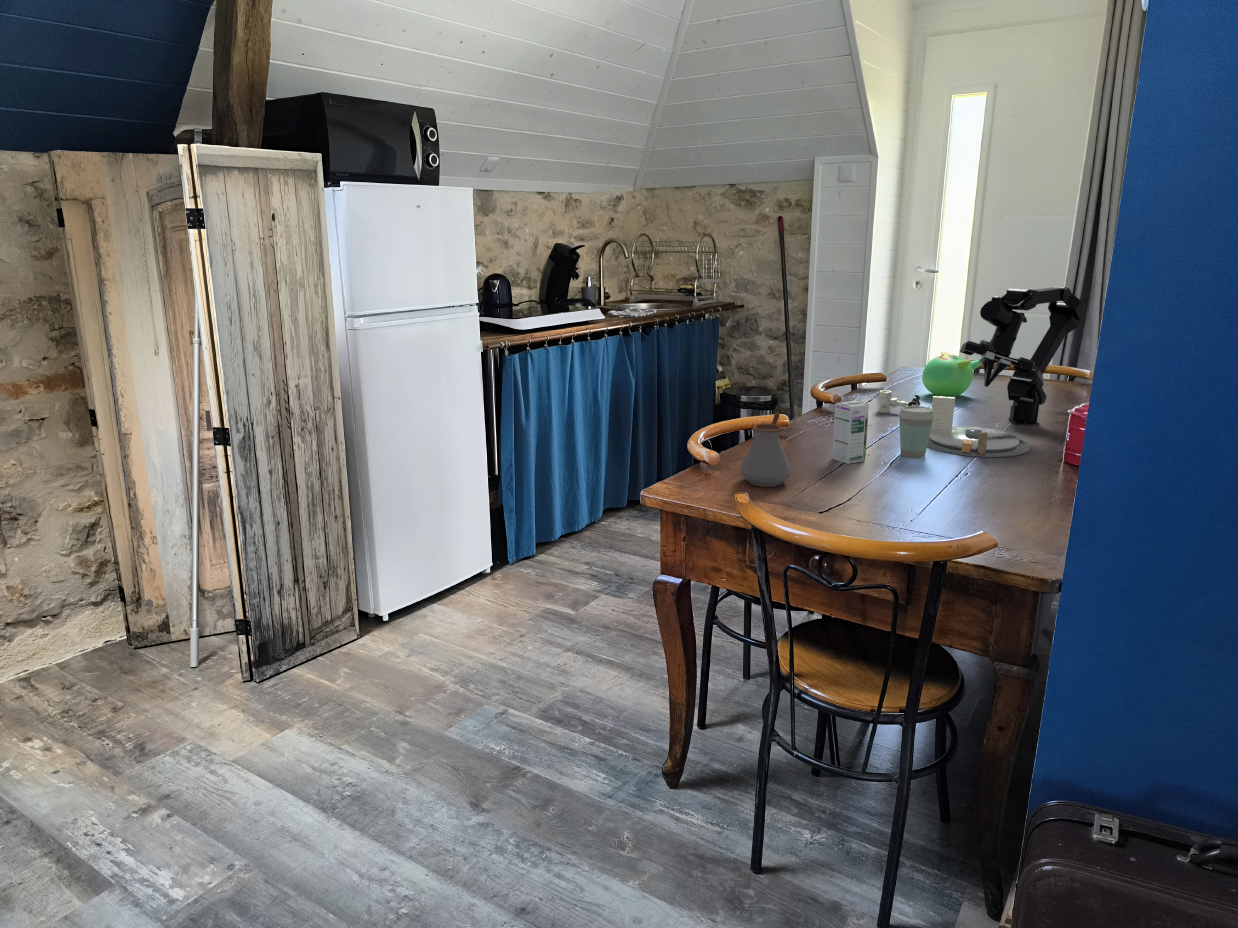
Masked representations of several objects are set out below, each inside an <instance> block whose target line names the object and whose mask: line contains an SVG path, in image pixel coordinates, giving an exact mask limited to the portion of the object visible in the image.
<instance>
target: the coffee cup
mask: <svg viewBox="0 0 1238 928" xmlns="http://www.w3.org/2000/svg"><path fill="white" fill-rule="evenodd" d="M897 416H898V417H899V441H900V442H899V444H900V445H899V448H900V455H901V456H902V457H903V458H909V459H923V458H925V456H926V453H927V448H928V447H927V444H928V440H929V435H930V431H931V426H932V422H933V419H934V418H935V417H934V414H933V410H932V407H928V406H921V405H919V406H905V407H901V408H900V411H899V412H898V415H897Z"/></svg>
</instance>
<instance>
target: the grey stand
mask: <svg viewBox="0 0 1238 928" xmlns="http://www.w3.org/2000/svg"><path fill="white" fill-rule="evenodd" d="M955 402H956V396H954V397H942V396H938V395H935V396H934V395H932V401H931V409H932V410H933V414H934V417H935V418H934V419H933V422H932V426H931V431H930V435H929V439H930V440H931V441H932V442H934V443H936V444H938V445H941V446H945V447H949V448H954V449H959V450H962V452H967V453H970V452H971V451H977V448H978V440H979V432H987V433H988V438H987V446H986V452H1000V451H1008V450H1013V449H1015V448H1017V447H1018V446H1019V439H1020V438H1019V437H1017V436H1016V435H1015V434H1012V433H1009V432H1005V431H1002V430H997V429H993V428H987V427H977V426H963V425H962V426H961V425H957V426H953V423H954V413H955V406H956V405H955V404H956V403H955Z"/></svg>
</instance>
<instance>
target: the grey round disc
mask: <svg viewBox="0 0 1238 928" xmlns="http://www.w3.org/2000/svg"><path fill="white" fill-rule="evenodd" d="M1018 439H1019V446H1018V447H1017V448H1015V449H1013V450H1008V451H1000V452H986V454H985V455H984V456H981V455H977V451H971V452H970V453H967V452H962V450H959V449H954V448H949V447H945V446H941V445H938V444H936V443H934V442H932V441H931V440H930V439H929V440H928V444H927V448H928V449H931V450H934V451H938V452H941V453H945V454H951V455H956V456H964V457H972V458H973V457H974V458H989V459H990V458H995V459H996V458H999V459H1000V458H1012V457H1018V456H1023V455H1026V454H1027V453H1029V452H1030V451H1031V446H1030V444H1029V443H1028V442H1026V441H1024V440H1022V439H1020V438H1018ZM1022 454H1023V455H1022Z"/></svg>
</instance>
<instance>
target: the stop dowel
mask: <svg viewBox="0 0 1238 928" xmlns="http://www.w3.org/2000/svg"><path fill="white" fill-rule="evenodd" d="M987 438H988V433H987V432H979V440H978V448H977V455H981V456H984V455H985V454H986V446H987Z"/></svg>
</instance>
